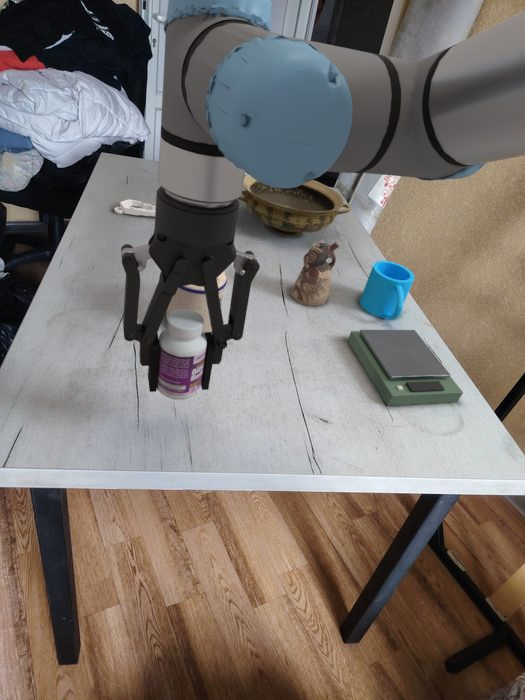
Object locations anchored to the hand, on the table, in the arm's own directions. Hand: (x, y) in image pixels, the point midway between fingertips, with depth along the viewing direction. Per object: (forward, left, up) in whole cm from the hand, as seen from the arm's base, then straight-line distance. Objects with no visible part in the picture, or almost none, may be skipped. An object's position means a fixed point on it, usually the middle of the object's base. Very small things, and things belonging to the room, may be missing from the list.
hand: (178, 382), depth 57 cm
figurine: (+31, -30, -8) cm, 44 cm away
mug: (+26, -44, -8) cm, 52 cm away
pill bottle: (0, 0, 0) cm, 1 cm away
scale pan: (+10, -39, -5) cm, 41 cm away
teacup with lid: (+24, -6, -8) cm, 26 cm away
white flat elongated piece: (+64, -1, -8) cm, 65 cm away
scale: (+9, -39, -8) cm, 41 cm away
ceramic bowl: (+61, -34, -8) cm, 71 cm away
